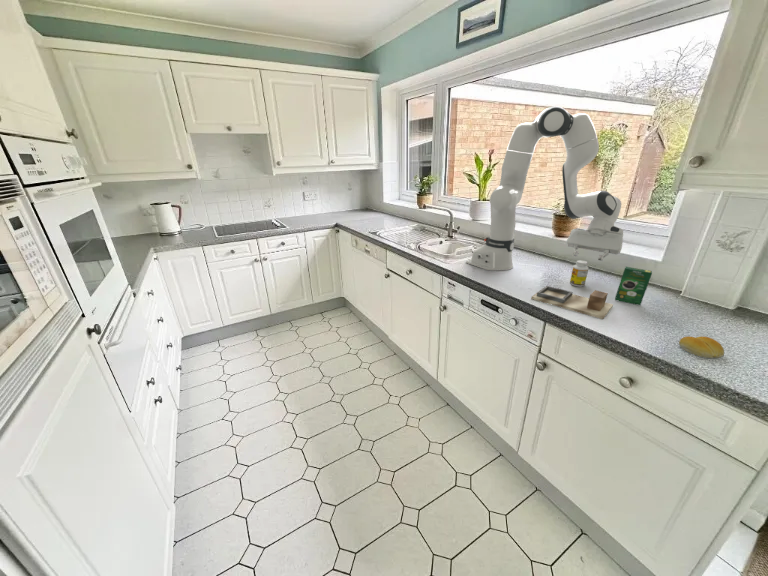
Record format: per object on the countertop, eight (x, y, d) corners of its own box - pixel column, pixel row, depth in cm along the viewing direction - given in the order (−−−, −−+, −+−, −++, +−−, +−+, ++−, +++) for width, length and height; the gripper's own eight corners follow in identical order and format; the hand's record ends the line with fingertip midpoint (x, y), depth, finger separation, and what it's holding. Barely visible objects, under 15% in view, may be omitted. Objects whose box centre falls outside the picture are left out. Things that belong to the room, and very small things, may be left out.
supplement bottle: (568, 281, 138) (574, 258, 134) (583, 283, 136) (589, 260, 132) (570, 285, 134) (575, 262, 130) (585, 287, 132) (591, 264, 128)
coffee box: (641, 303, 117) (652, 269, 112) (641, 306, 115) (652, 272, 110) (615, 298, 122) (624, 265, 117) (614, 300, 120) (624, 268, 115)
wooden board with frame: (531, 298, 123) (533, 284, 120) (544, 289, 131) (546, 275, 129) (602, 319, 107) (607, 303, 104) (612, 306, 115) (617, 291, 113)
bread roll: (671, 342, 94) (675, 330, 92) (704, 343, 93) (709, 332, 91) (693, 359, 86) (698, 346, 85) (729, 360, 85) (735, 348, 84)
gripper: (572, 223, 142) (560, 249, 140) (627, 229, 129) (615, 258, 126) (573, 231, 147) (561, 256, 144) (626, 238, 133) (615, 266, 131)
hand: (587, 257), depth 135 cm, fingers open, 8 cm apart
